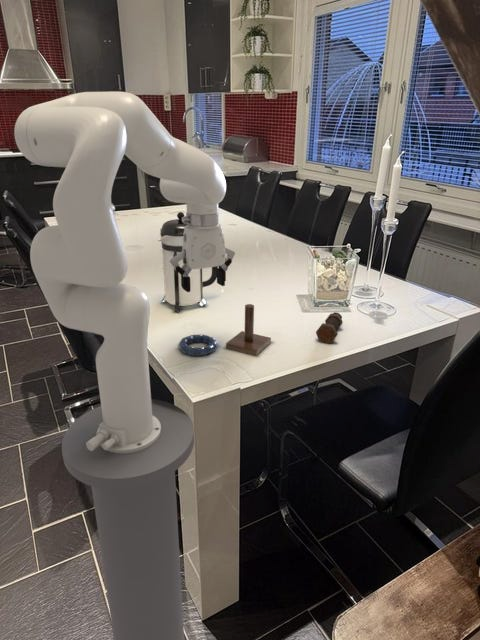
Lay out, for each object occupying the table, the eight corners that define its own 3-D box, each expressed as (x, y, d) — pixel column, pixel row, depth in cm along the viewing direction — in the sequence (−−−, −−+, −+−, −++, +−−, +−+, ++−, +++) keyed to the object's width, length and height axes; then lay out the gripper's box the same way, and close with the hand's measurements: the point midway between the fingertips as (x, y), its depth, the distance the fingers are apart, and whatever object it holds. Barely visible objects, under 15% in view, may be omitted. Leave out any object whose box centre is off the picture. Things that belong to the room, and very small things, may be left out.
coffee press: (200, 315, 144) (197, 218, 132) (153, 309, 148) (146, 214, 137) (218, 297, 159) (218, 208, 148) (175, 292, 164) (171, 205, 152)
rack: (256, 355, 120) (257, 314, 115) (226, 348, 124) (225, 308, 119) (270, 342, 127) (272, 303, 123) (241, 335, 131) (242, 297, 127)
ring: (204, 360, 117) (204, 353, 117) (171, 351, 122) (170, 344, 121) (224, 345, 126) (224, 338, 125) (192, 337, 130) (191, 330, 129)
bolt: (338, 328, 141) (327, 347, 128) (324, 318, 141) (312, 336, 128) (349, 314, 138) (339, 332, 125) (335, 304, 138) (324, 321, 125)
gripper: (175, 226, 105) (178, 297, 111) (241, 219, 113) (240, 286, 120) (163, 220, 111) (166, 288, 117) (226, 214, 119) (226, 278, 125)
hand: (204, 287), depth 118 cm, fingers open, 9 cm apart
